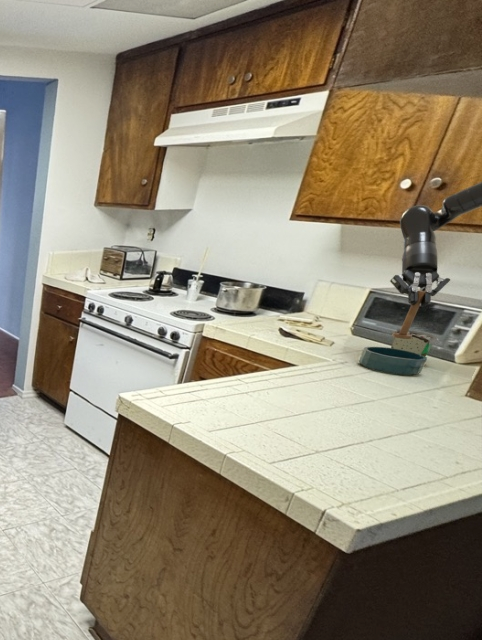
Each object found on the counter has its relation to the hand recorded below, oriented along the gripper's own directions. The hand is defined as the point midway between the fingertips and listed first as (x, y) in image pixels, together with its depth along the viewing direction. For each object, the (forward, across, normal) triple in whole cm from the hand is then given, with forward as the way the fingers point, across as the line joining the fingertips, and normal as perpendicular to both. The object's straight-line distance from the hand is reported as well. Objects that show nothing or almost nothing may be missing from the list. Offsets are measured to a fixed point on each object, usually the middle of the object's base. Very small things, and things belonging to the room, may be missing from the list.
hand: (419, 304), depth 144 cm
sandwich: (+4, +10, +28) cm, 30 cm away
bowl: (+14, 0, +17) cm, 22 cm away
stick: (+6, 0, +9) cm, 11 cm away
